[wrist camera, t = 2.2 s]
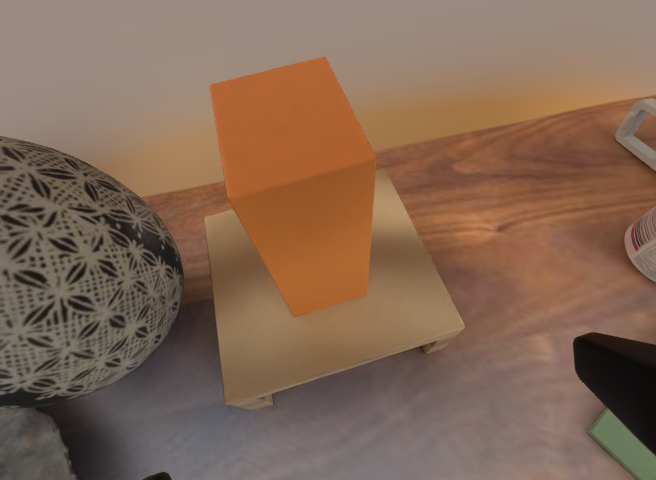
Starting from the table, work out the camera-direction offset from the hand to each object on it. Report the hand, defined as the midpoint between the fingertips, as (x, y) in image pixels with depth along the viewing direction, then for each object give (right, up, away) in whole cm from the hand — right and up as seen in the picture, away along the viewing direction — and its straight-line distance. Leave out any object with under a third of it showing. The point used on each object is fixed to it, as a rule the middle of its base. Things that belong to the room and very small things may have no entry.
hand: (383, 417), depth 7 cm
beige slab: (-1, 0, +16) cm, 16 cm away
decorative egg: (-15, -2, +16) cm, 22 cm away
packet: (-2, +2, +11) cm, 12 cm away
